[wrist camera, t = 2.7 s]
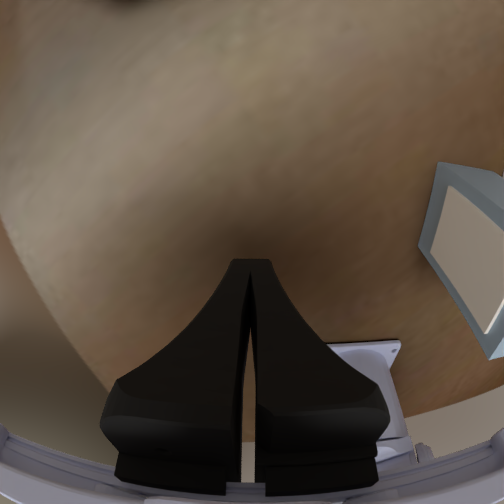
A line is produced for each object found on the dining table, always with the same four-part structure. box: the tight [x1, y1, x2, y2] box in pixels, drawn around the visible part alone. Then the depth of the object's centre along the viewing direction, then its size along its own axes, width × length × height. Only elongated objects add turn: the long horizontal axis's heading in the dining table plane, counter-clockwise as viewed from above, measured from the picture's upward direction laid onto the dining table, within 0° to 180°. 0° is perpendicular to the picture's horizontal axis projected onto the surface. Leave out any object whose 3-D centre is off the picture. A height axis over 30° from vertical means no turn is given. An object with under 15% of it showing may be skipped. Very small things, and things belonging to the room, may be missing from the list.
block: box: [418, 162, 504, 360], centre depth 14 cm, size 6×5×10 cm
